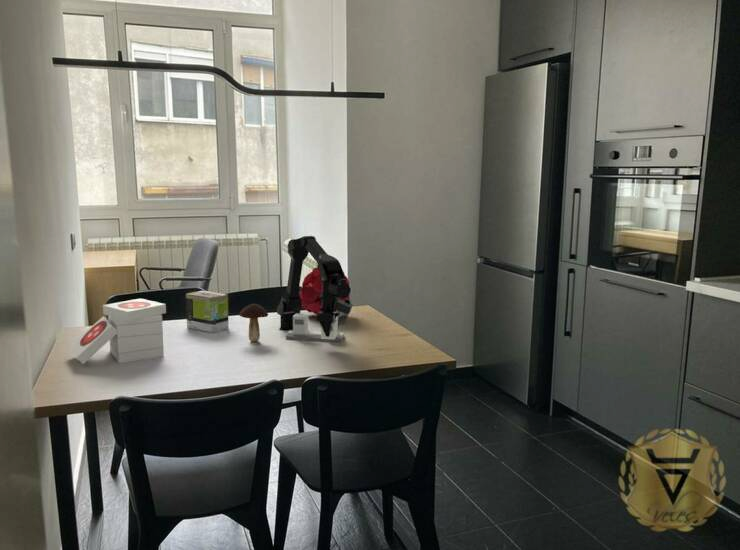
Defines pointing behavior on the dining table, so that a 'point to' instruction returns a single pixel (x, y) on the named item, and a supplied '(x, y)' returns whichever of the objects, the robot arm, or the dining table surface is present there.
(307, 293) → the bouquet
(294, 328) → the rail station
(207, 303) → the tea box
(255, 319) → the decorative mushroom
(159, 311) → the pizza boxes
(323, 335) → the block
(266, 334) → the dining table surface
